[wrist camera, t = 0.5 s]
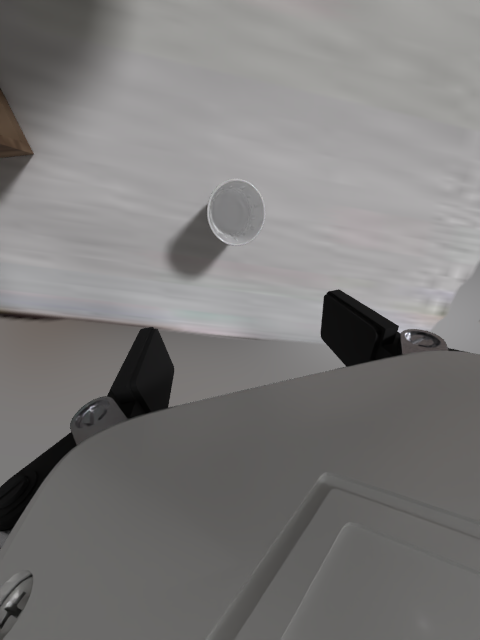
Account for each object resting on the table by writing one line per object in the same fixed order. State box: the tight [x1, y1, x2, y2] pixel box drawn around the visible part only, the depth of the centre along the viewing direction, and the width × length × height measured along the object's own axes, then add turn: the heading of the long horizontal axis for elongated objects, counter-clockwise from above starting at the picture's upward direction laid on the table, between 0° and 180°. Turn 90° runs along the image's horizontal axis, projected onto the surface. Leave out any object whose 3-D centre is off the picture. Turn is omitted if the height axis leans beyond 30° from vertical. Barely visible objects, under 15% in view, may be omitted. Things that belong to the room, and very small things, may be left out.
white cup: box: [207, 179, 265, 246], centre depth 31 cm, size 8×8×10 cm
